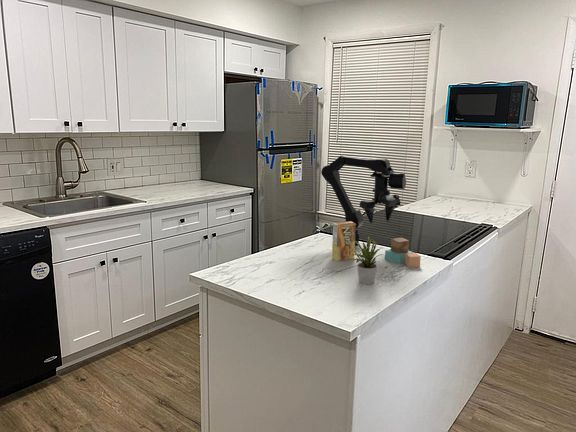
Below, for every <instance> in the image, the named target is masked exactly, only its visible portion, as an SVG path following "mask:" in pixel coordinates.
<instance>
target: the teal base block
mask: <svg viewBox="0 0 576 432" xmlns="http://www.w3.org/2000/svg"><path fill="white" fill-rule="evenodd" d="M407 253H414V251H411V250H408V252H407ZM384 260H386V261H390V262H394V263H395V264H399V265H402V264H405V253H400V254H398V253H396V252H393V251H391V248H390V249H386V250H384Z"/></svg>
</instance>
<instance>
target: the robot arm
mask: <svg viewBox="0 0 576 432" xmlns="http://www.w3.org/2000/svg"><path fill="white" fill-rule="evenodd" d="M345 166H349V167H350V166H351V167H358V168H365V169H367V170H370V171H372V172H373V173H372V174H370V177H371V178H374V188H373V189H372V192H373V193H374V194H373V198H371V199H372V200H369V199H365V200H360V201H359V208H361V209H363V210H364V211H365V213H366V216H367V218H368V221H369V223H370V224H373V220H374V211H375V210H376V208H375V207H376V206H383V205H384V207H385V208H384V210H385V211H384V212H385V219H386V221H387V222H390V219H391V216H392V215H393V212H394V210H395V209H396V208H398V207H399V206H401V200H400V195H399V194H398V193H397V194H396V193H395V194H391V192H390V190H389V189H388V188H390V189H393V190H394V189H396V190H397V189H398V190H405V189H406V185H407V179H406V173H405V172H402V173H401V172H400V173H396V172H395V170H394V169H393V168H392V166H391V162H390V160H389V159H388V158H364V157H363V158H362V157H355V156H347V155H344V154H343V155H340V156H338V157H337V158H336V159H335V160H333V161H332V162H331V163H329V164H328V165H325V166H323V167H322V169H321V171H320V174H321V176H322V177H323V179H324V180H325V181H326V182H327V183H328V184H329V185H331V189H332V190H333V192H334V194H335V196H336V198H337V200H338V202H339V204H340V205H341V208H342V210H343V212H344V220H345V222H350V221H351V222H354V223H356V231H355V241H357V242H358V243H359V244H360V233H359V229H360V228H361V226H363V224H364V221H365V220H364V216H363V214H362V212H361V210H360V209H358V210H357V209H355V207H354V206H353V204H352V202H351V200H350V197H349V195H348V194H347V192H346V190H345V188H344V185H343V183H342V182H341V177H340V172H339V171H340V170H341V169H343V167H345ZM355 246H358V244H357V243H356V242H355Z"/></svg>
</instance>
